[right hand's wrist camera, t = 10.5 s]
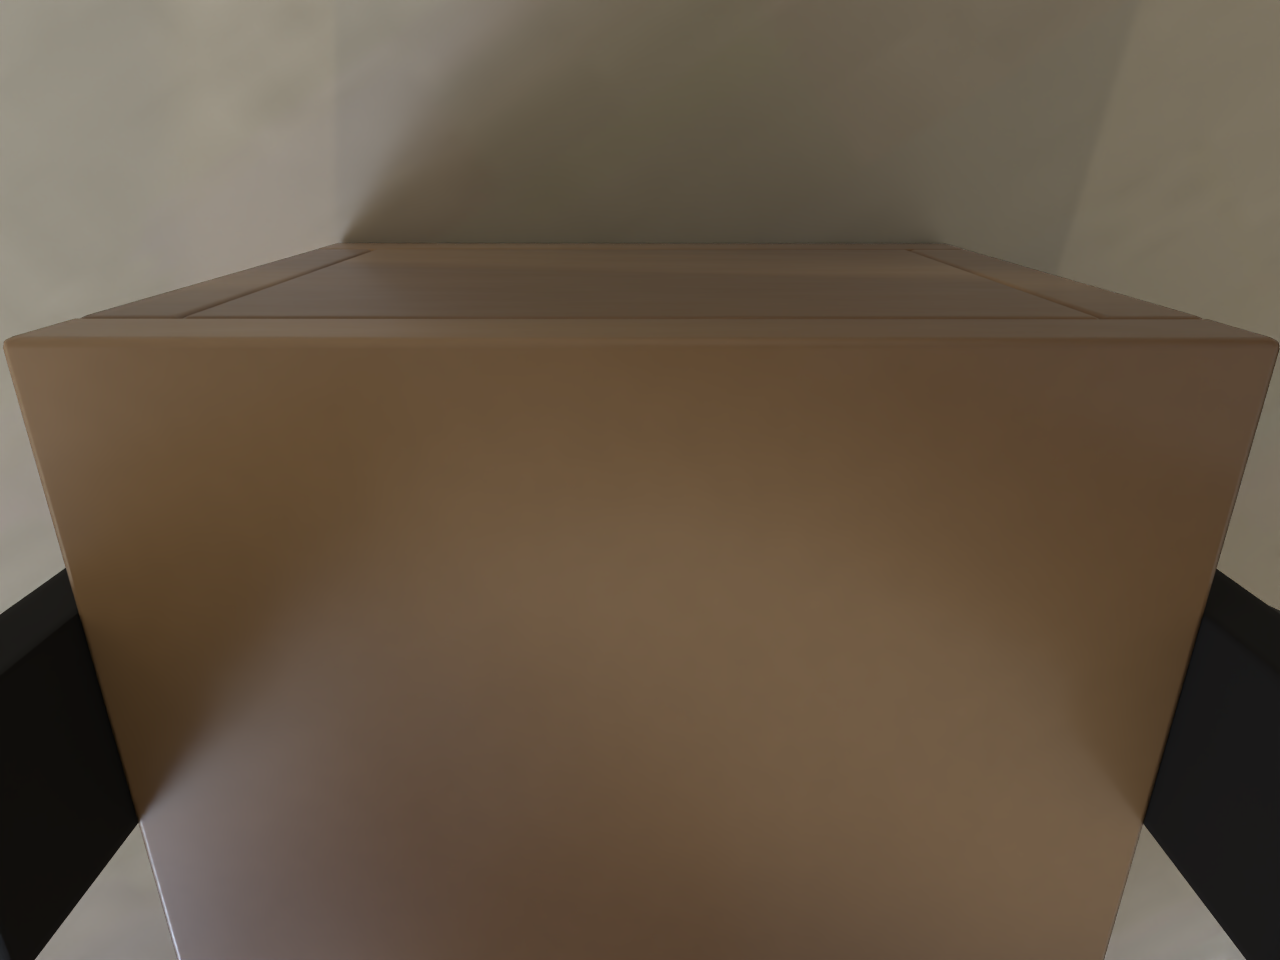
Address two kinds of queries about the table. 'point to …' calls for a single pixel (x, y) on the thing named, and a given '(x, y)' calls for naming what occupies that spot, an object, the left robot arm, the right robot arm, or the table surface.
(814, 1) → the table surface
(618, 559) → the cabinet
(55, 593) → the right robot arm
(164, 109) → the table surface
